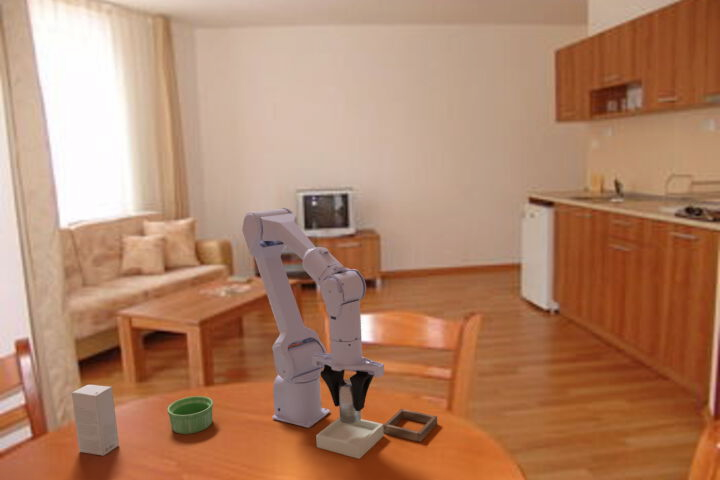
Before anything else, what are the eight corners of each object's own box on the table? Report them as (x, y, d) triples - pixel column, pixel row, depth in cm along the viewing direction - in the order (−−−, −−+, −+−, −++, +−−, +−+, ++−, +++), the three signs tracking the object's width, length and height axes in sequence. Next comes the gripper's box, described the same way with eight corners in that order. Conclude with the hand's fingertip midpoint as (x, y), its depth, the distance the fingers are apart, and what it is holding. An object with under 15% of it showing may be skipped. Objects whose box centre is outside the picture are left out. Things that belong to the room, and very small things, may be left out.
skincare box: (120, 445, 109) (113, 386, 107) (103, 456, 105) (96, 395, 103) (95, 441, 111) (88, 383, 109) (78, 452, 107) (70, 392, 105)
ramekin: (159, 432, 114) (157, 411, 113) (188, 412, 122) (187, 393, 121) (196, 439, 110) (194, 418, 110) (223, 418, 119) (221, 398, 118)
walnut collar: (383, 433, 109) (383, 425, 109) (401, 415, 116) (401, 408, 116) (420, 442, 105) (420, 434, 105) (437, 423, 112) (437, 416, 112)
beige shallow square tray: (316, 447, 105) (316, 435, 105) (343, 425, 113) (342, 414, 113) (359, 458, 100) (358, 446, 100) (383, 435, 108) (383, 424, 108)
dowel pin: (335, 419, 106) (333, 384, 105) (349, 411, 109) (347, 377, 108) (351, 425, 103) (350, 389, 102) (365, 417, 106) (363, 381, 105)
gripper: (300, 338, 104) (305, 407, 106) (369, 349, 96) (372, 423, 99) (322, 327, 110) (326, 393, 112) (388, 336, 102) (391, 407, 105)
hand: (349, 406), depth 106 cm, fingers closed on dowel pin, 4 cm apart
